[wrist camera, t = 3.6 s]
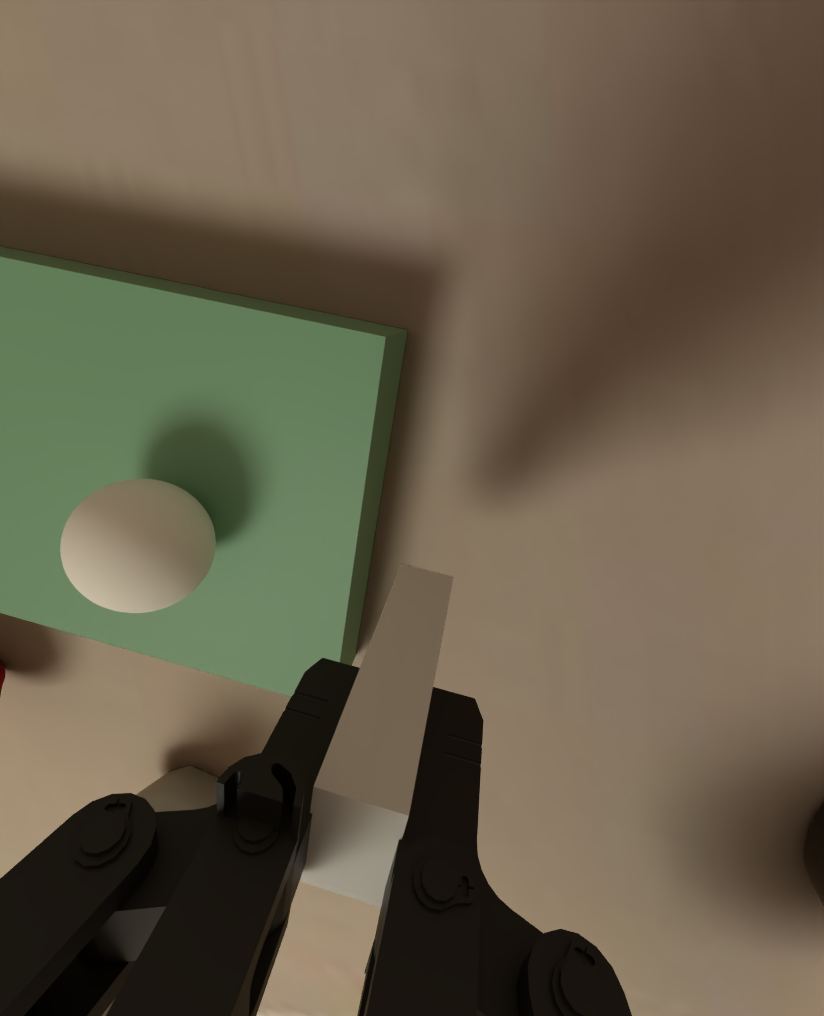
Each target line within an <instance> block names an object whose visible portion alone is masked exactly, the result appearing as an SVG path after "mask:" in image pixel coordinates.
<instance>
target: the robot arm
mask: <svg viewBox="0 0 824 1016" xmlns="http://www.w3.org/2000/svg"><path fill="white" fill-rule="evenodd" d="M452 582H453V577H452V576H448V575H444V574H440V573H436V572H432V571H429V570H425V569H421V568H417V567H413V566H409V565H405V564H401V565H400V567H399V570H398V572H397V575H396V577H395V580H394V583H393V585H392V588H391V590H390V593H389V595H388V598H387V600H386V603H385V606H384V608H383V611H382V613H381V616H380V618H379V621H378V623H377V626H376V628H375V631H374V634H373V636H372V639H371V641H370V644H369V646H368V649H367V651H366V654H365V657H364V659H363V662H362V664H361V667H360V668H358V667H354V666H351V665H347V664H344V663H340V662H337V661H333V660H329V659H326V658H321V659H320V660H319V661H318V662H316V663H315V664H314V665H313V666H311V667H310V668H309V669H308V670H306V671H305V673H304V674H303V676H302V678H301V680H300V682H299V684H298V686H297V688H296V689H295V692H294V695H292V697H291V699H290V701H289V702H288V704H287V706H286V709H285V711H284V712H283V714H282V716H281V717H280V719H279V721H278V723H277V725H276V727H275V729H274V731H273V732H272V734H271V736H270V738H269V740H268V742H267V744H266V745H265V747H264V749H263V751H262V753H260V754H256V755H252V756H248V757H244V758H243V759H241V760H240V761H238V762H236V763H235V764H233V765H231V766H230V767H228V769H227V770H226V771H225V772H224V773H223V775H222V776H221V777H220V778H219V779H218V781H217V782H216V796H217V804H214V805H212V806H209V807H206V808H200V809H194V810H179V811H162V812H155V811H154V809H153V808H152V806H151V805H150V804H149V803H148V801H147V800H146V799H145V798H142V797H140V796H137V795H134V794H132V793H124V794H111V795H108V796H106V797H103V798H100V799H98V800H95V801H92V802H91V803H89V804H88V805H86V806H85V807H83V808H82V809H81V810H79V811H78V812H76V813H75V814H73V815H72V816H71V817H70V818H69V819H68V820H66V821H65V822H64V823H63V824H62V825H61V826H60V827H59V828H57V829H56V830H55V831H54V832H53V833H52V834H51V835H49V836H48V837H47V838H46V839H45V840H44V841H43V842H42V843H40V844H39V845H38V846H37V847H36V848H35V849H34V850H32V851H31V852H30V853H29V854H28V855H27V856H26V857H25V858H23V859H22V860H21V861H20V862H19V863H18V864H17V865H15V866H14V867H13V868H12V869H11V870H10V871H9V872H8V873H6V874H5V875H4V876H3V877H2V878H1V879H0V1016H102V1015H103V1014H104V1012H105V1011H106V1010H107V1008H108V1007H109V1006H110V1004H111V1003H112V1002H113V1000H114V999H115V1000H114V1002H113V1003H112V1005H111V1007H110V1009H109V1011H108V1012H107V1014H106V1016H256V1014H257V1011H258V1009H259V1006H260V1003H261V1000H262V997H263V994H264V991H265V988H266V985H267V982H268V980H269V977H270V974H271V971H272V968H273V965H274V962H275V959H276V956H277V953H278V951H279V948H280V945H281V942H282V939H283V936H284V933H285V930H286V927H287V924H288V919H289V913H290V908H291V903H292V900H293V898H294V895H295V892H296V889H297V886H298V883H299V881H300V878H301V882H304V883H307V884H310V885H313V886H316V887H319V888H322V889H325V890H328V891H331V892H335V893H338V894H341V895H344V896H347V897H350V898H353V899H356V900H359V901H362V902H365V903H368V904H371V905H375V906H378V907H381V911H380V915H379V920H378V925H377V930H376V935H375V939H374V942H373V946H372V949H371V952H370V956H369V959H368V963H367V966H366V969H365V973H366V977H365V981H364V986H363V991H362V996H361V1001H360V1005H359V1010H358V1015H357V1016H632V1015H631V1012H630V1009H629V1006H628V1003H627V1000H626V997H625V993H624V991H623V989H622V987H621V985H620V983H619V980H618V978H617V976H616V974H615V972H614V970H613V967H612V966H611V965H610V964H609V962H608V961H607V960H606V959H605V957H604V956H603V955H602V953H601V952H600V951H599V950H598V948H597V947H596V946H594V945H593V944H592V943H590V942H589V941H588V940H586V939H585V938H584V937H582V936H581V935H579V934H578V933H574V932H570V931H567V930H563V929H558V930H554V931H550V932H547V933H544V934H543V933H542V932H541V931H539V930H538V929H537V928H535V927H534V926H533V925H531V924H530V923H529V922H527V921H526V920H525V919H523V918H522V917H521V916H519V915H518V914H517V913H515V912H514V911H513V910H511V909H510V908H509V907H508V906H507V905H506V904H505V903H504V902H503V901H501V900H500V899H499V898H498V896H497V895H496V894H495V892H494V891H493V890H492V888H491V887H490V886H489V884H488V882H487V880H486V878H485V876H484V874H483V872H482V870H481V866H480V862H479V859H478V853H477V829H478V810H479V791H480V772H481V767H480V765H481V753H482V748H481V746H482V735H483V719H482V716H481V713H480V711H479V708H478V705H477V703H476V700H475V699H474V698H471V697H467V696H464V695H460V694H456V693H453V692H449V691H446V690H442V689H438V688H435V687H433V684H434V678H435V673H436V668H437V662H438V657H439V652H440V646H441V641H442V636H443V630H444V625H445V619H446V614H447V609H448V603H449V598H450V593H451V587H452ZM804 859H805V865H806V869H807V872H808V875H809V877H810V880H811V882H812V884H813V886H814V888H815V889H816V891H817V893H818V895H819V897H820V899H821V901H822V903H823V905H824V805H823V807H822V808H821V809H820V811H819V812H818V813H817V815H816V816H815V818H814V820H813V822H812V824H811V826H810V828H809V831H808V833H807V837H806V841H805V848H804ZM301 875H302V876H301Z"/></svg>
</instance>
